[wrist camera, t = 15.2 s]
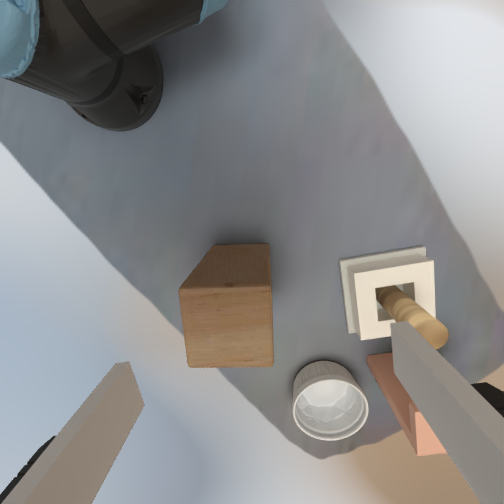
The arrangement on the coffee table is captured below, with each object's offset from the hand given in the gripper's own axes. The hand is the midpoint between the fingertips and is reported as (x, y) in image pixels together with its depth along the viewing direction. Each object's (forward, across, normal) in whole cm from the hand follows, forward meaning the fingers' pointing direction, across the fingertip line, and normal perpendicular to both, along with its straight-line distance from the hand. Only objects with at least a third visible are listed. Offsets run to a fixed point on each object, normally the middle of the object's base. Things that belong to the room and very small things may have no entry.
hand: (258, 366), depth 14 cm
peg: (+34, +19, -14) cm, 41 cm away
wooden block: (+35, -5, -6) cm, 36 cm away
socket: (+35, +19, -14) cm, 42 cm away
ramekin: (+35, +6, -32) cm, 48 cm away
